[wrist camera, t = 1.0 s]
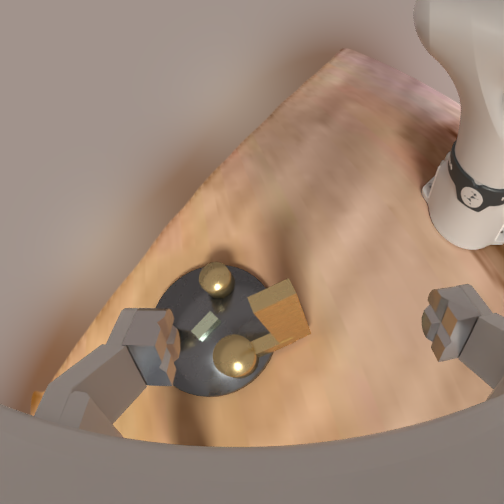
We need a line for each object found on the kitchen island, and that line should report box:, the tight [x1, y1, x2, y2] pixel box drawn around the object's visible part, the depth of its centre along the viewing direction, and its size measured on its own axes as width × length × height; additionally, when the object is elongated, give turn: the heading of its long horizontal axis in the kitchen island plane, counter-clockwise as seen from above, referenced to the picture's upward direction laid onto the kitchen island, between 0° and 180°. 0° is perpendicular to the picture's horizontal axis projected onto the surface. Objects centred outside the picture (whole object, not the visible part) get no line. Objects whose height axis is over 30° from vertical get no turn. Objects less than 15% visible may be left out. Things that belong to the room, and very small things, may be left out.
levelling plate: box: [156, 262, 274, 397], centre depth 47 cm, size 22×22×4 cm
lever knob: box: [213, 278, 311, 379], centre depth 37 cm, size 14×6×16 cm, turn 111°
